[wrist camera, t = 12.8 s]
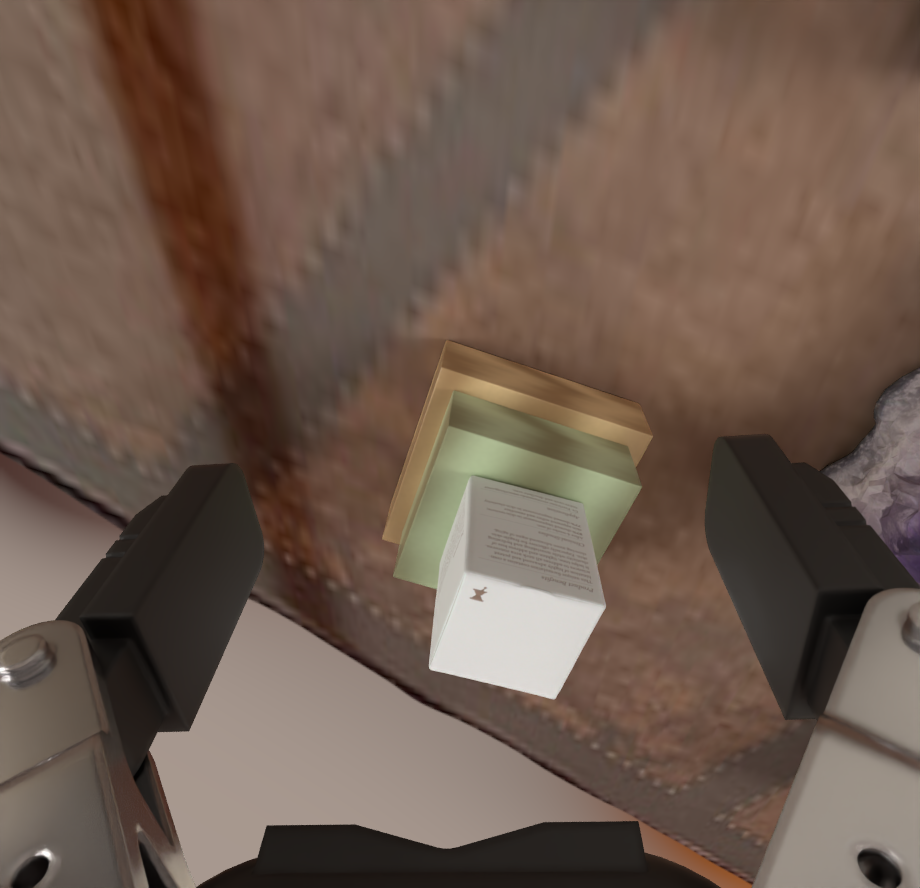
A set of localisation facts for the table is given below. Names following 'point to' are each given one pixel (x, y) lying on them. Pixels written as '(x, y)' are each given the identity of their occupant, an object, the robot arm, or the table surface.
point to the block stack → (511, 452)
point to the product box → (515, 589)
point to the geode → (889, 472)
